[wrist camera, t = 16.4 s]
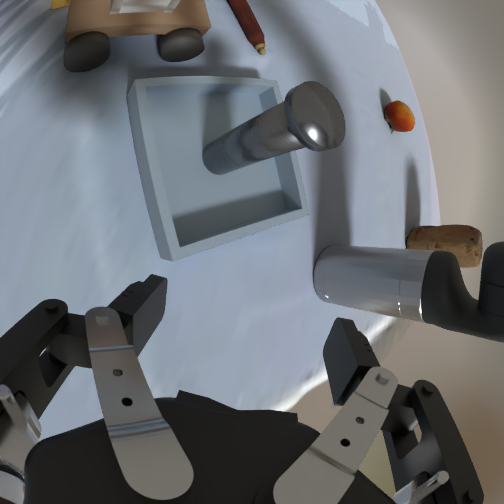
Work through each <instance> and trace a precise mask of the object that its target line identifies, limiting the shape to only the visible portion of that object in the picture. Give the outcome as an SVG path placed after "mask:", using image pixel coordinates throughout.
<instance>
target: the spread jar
mask: <svg viewBox="0 0 504 504" xmlns="http://www.w3.org/2000/svg"><path fill="white" fill-rule="evenodd" d="M24 492H25V482H24V481H23V480H22V479H21V478H20V477H19V476H17V475H16V474H14V473H12V472H10V471H8V470H6V469H3V468H0V504H23V500H24Z"/></svg>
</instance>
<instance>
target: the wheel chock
mask: <svg viewBox="0 0 504 504" xmlns="http://www.w3.org/2000/svg"><path fill="white" fill-rule="evenodd" d="M69 4H70V0H52V6H51V9H56V8H61V7H66V6H69Z"/></svg>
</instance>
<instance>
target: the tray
mask: <svg viewBox="0 0 504 504" xmlns="http://www.w3.org/2000/svg"><path fill="white" fill-rule="evenodd" d="M282 102H283V101H282V97H281V93H280V90H279V86H278V83H277V80H268V79H258V78H245V77H228V76H173V77H156V78H144V79H135V80H134V82H133V84H132V86H131V88H130V91H129V93H128V95H127V104H128V111H129V118H130V124H131V131H132V136H133V142H134V148H135V153H136V158H137V163H138V168H139V173H140V178H141V182H142V187H143V191H144V196H145V200H146V204H147V208H148V212H149V216H150V220H151V224H152V228H153V232H154V235H155V239H156V243H157V246H158V250H159V253H160V257H161V258H162V259H165V260H169V261H176V260H179V259H182V258H184V257H187V256H190V255H193V254H196V253H199V252H201V251H204V250H207V249H210V248H213V247H216V246H219V245H222V244H224V243H227V242H230V241H233V240H236V239H239V238H242V237H245V236H248V235H251V234H254V233H257V232H260V231H262V230H265V229H268V228H271V227H274V226H277V225H280V224H283V223H286V222H289V221H292V220H295V219H298V218H301V217H304V216H307V215H309V210H308V205H307V200H306V196H305V191H304V186H303V182H302V177H301V173H300V168H299V164H298V159H297V155H296V151H291V152H288V153H285V154H282V155H279V156H276V157H273V158H269V159H266V160H263V161H261V162H258V163H255V164H252V165H249V166H246V167H243V168H240V169H238V170H235V171H232V172H229V173H227V174H224V175H216V174H213V173H211V172H210V171H209V170H208V169H207V168H206V167H205V165H204V163H203V159H202V154H203V150H204V148H205V147H206V145H207V144H209V143H210V142H212V141H214V140H215V139H217V138H219V137H220V136H222V135H224V134H225V133H227V132H229V131H230V130H232V129H234V128H235V127H237V126H239V125H241V124H242V123H244V122H246V121H248V120H250V119H251V118H253V117H255V116H257V115H259V114H261V113H262V112H264V111H266V110H268V109H270V108H272V107H274V106H276V105H278V104H280V103H282Z"/></svg>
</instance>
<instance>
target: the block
mask: <svg viewBox="0 0 504 504" xmlns="http://www.w3.org/2000/svg"><path fill="white" fill-rule="evenodd" d="M407 249H413V250H433V251H448V252H451V253H453V254H454V255H455V256H456V258H457V260H458V263H459V266H460V267H462V268H468V267H469V268H470V267H477V266H478V265H479V262H480V260H481V257H482V234H481V232H480V231H479V230H478V229H476V228H474V227H472V226H467V225H442V226H419V227H417V228H415V229H414V230H413V231H412V232H411V233H410V235H409V237H408V239H407Z"/></svg>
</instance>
